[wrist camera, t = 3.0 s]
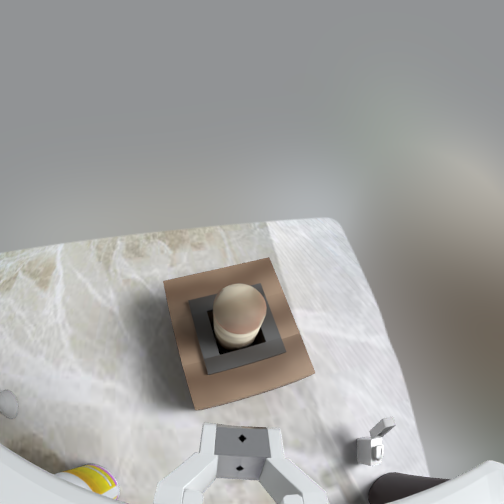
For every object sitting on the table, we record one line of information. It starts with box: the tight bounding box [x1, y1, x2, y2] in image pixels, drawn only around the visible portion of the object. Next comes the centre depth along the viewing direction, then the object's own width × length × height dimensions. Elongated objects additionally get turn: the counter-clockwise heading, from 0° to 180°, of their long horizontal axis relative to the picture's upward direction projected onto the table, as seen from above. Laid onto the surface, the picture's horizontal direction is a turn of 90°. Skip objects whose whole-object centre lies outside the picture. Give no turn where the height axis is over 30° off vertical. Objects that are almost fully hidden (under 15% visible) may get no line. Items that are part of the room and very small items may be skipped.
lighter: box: [357, 417, 396, 466], centre depth 28 cm, size 7×2×8 cm, turn 179°
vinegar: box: [369, 472, 451, 504], centre depth 18 cm, size 7×7×20 cm
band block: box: [163, 258, 315, 410], centre depth 35 cm, size 16×14×9 cm
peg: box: [213, 284, 266, 351], centre depth 29 cm, size 5×5×8 cm
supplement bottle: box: [54, 464, 120, 500], centre depth 18 cm, size 7×7×13 cm
